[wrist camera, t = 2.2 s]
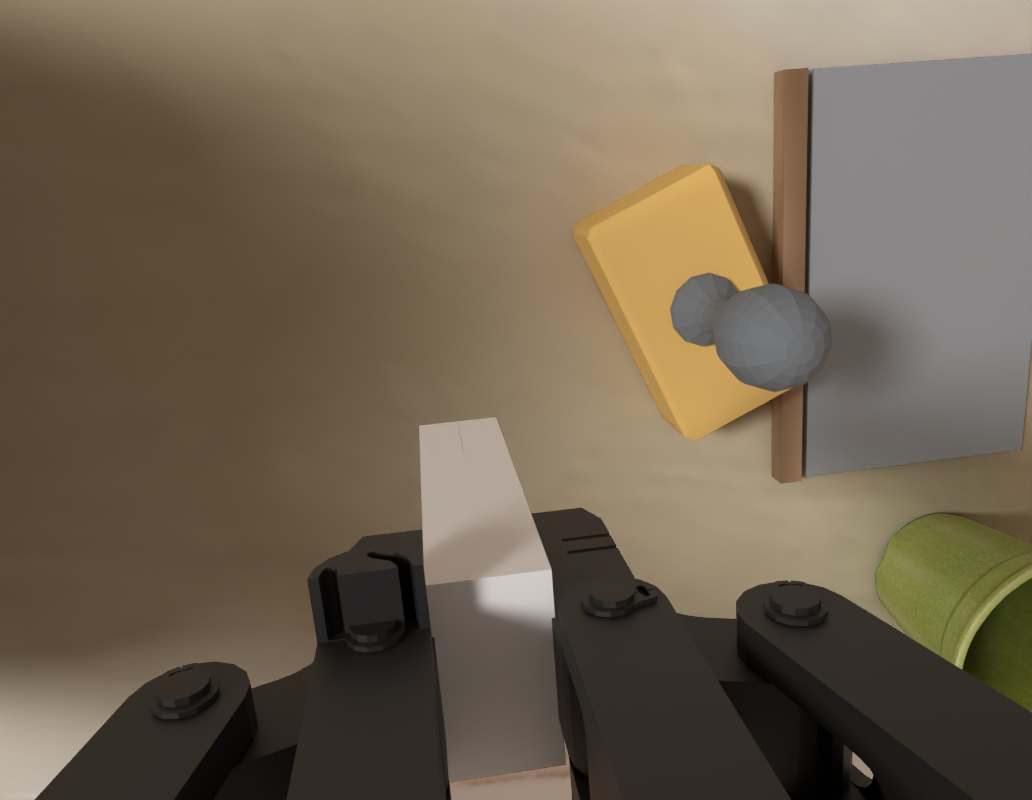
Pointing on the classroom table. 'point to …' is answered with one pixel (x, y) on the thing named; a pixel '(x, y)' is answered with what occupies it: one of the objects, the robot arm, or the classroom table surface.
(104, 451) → the classroom table surface
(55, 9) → the classroom table surface
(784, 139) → the rail
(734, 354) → the rubber stamp
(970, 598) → the plant pot
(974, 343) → the mat
